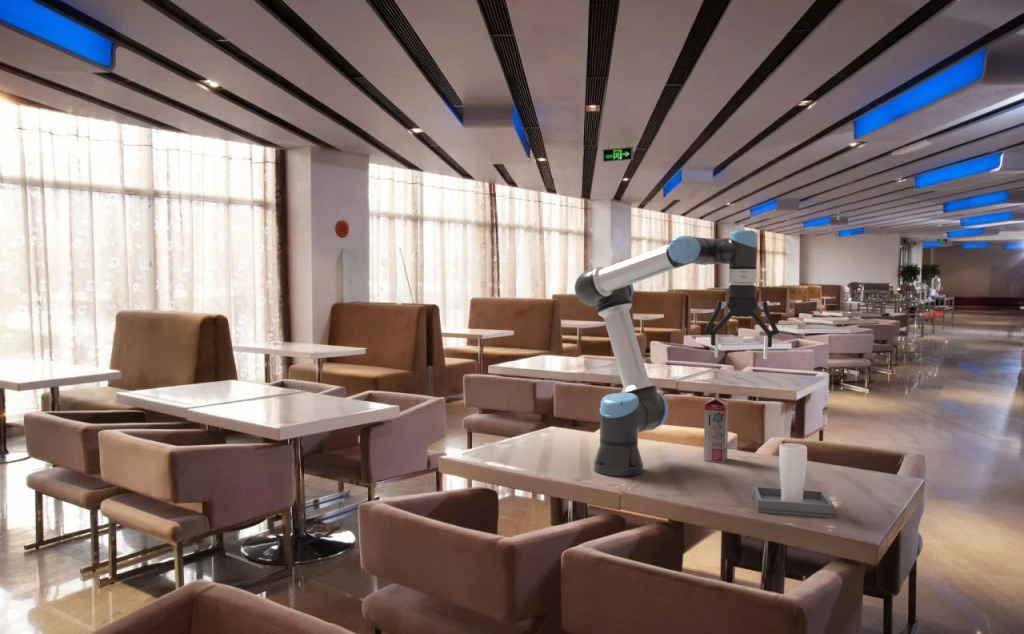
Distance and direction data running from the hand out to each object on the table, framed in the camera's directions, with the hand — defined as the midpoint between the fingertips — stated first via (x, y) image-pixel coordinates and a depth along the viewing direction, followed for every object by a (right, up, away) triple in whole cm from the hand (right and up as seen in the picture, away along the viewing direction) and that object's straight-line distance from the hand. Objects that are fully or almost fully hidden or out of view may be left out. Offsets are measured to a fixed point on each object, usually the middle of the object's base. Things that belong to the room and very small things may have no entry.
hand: (740, 358), depth 202 cm
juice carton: (+1, -36, +29) cm, 46 cm away
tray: (+7, -38, -20) cm, 43 cm away
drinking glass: (+7, -37, -20) cm, 42 cm away
